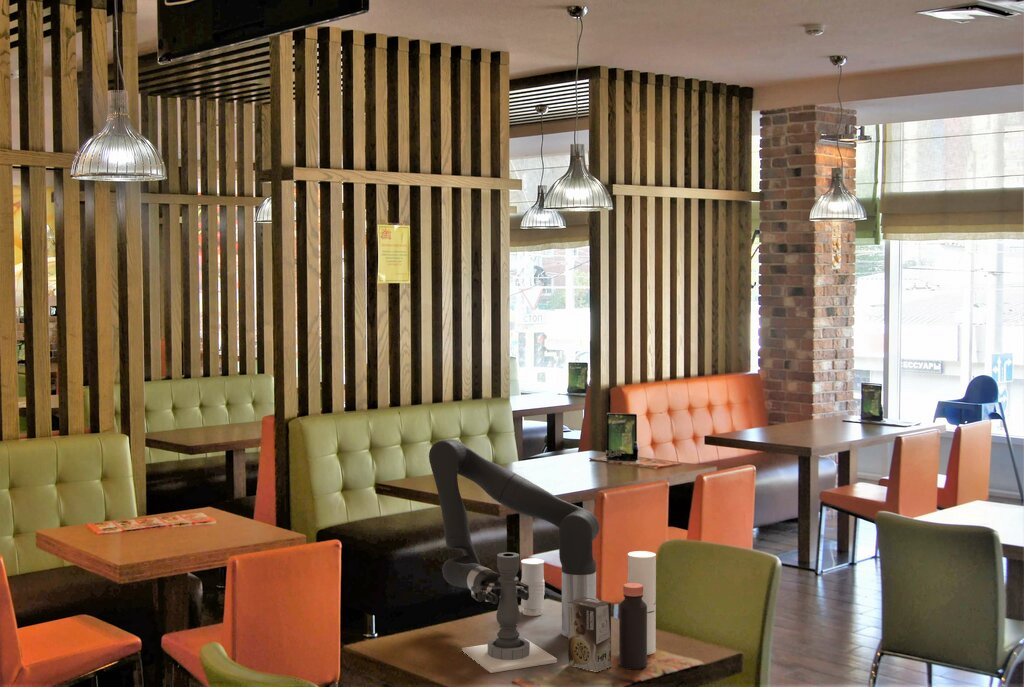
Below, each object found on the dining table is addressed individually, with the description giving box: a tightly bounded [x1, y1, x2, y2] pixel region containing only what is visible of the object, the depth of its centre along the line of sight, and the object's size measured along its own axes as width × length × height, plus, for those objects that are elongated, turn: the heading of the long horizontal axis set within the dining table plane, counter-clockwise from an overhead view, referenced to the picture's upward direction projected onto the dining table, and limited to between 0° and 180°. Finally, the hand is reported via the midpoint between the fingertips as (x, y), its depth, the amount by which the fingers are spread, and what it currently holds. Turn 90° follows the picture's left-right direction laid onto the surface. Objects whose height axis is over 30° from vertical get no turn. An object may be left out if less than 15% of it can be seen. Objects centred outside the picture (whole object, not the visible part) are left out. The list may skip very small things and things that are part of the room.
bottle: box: [618, 582, 648, 670], centre depth 279 cm, size 7×7×20 cm
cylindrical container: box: [627, 550, 657, 656], centre depth 291 cm, size 7×7×25 cm
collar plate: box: [461, 637, 558, 674], centre depth 286 cm, size 18×18×4 cm
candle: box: [520, 557, 546, 617], centre depth 325 cm, size 7×7×15 cm
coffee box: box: [567, 597, 612, 672], centre depth 279 cm, size 9×6×16 cm
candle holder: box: [495, 551, 521, 648], centre depth 286 cm, size 6×6×25 cm
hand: (511, 598), depth 284 cm, fingers open, 8 cm apart
